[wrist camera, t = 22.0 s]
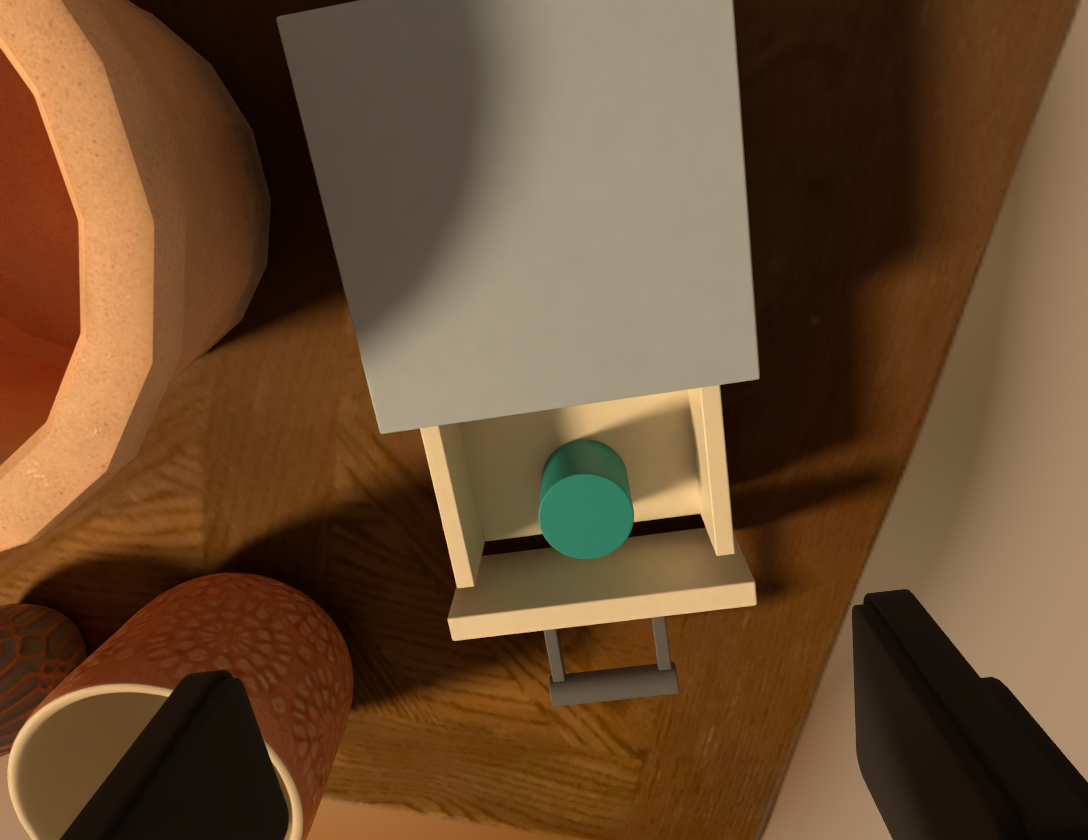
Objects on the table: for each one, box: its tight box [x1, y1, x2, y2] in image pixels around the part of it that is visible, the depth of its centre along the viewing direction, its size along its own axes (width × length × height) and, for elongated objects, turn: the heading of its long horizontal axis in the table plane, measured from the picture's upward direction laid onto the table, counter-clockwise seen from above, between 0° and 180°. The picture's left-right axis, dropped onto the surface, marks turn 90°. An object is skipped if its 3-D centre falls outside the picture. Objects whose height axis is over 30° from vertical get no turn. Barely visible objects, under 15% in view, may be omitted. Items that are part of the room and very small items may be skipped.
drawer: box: [420, 385, 757, 707], centre depth 33 cm, size 19×13×5 cm
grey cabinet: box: [276, 0, 760, 434], centre depth 28 cm, size 15×15×7 cm
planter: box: [8, 573, 354, 840], centre depth 35 cm, size 12×12×11 cm
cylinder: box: [538, 440, 634, 559], centre depth 32 cm, size 4×4×4 cm
